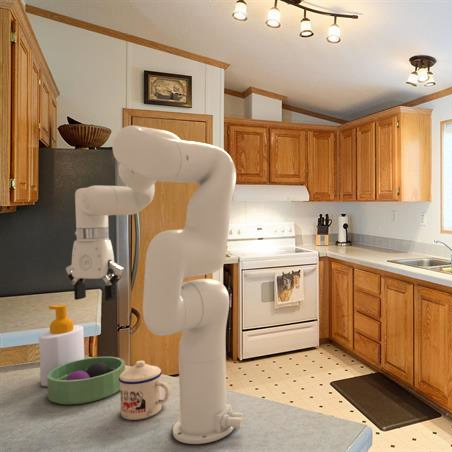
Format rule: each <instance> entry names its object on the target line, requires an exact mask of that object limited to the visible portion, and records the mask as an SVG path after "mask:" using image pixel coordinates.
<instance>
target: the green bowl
mask: <svg viewBox="0 0 452 452" xmlns="http://www.w3.org/2000/svg"><path fill="white" fill-rule="evenodd" d="M96 362H103V363H105V364H107V365H108V367H109V370H110V372H109V373H106V374H103V375H100V376H96V377H92V378H86V379H80V380H66V379H67V377H68V376H69V375H70V374H71V373H73V372H75V371H84V372H87V369H88V368H89V367H90V366H91V365H92V364H94V363H96ZM125 370H126V361H125V360H124V359H123V358H120V357H117V356H93V357H86V358H85V357H84V359H80V360H76V361H72V362H68V363H65V364H62V365H60V366H58V367H56V368H54V369H52V370H51V371H50V372H49V373H48V374H47V386H46V387H47V399H48V400H49V401H50V402H52V403H56V404H58V405H71V406H72V405H81V404H82V405H83V404H88V403H92V402H96V401H100V400H103V399H105V398H108V397H110V396H112V395H114V394H116V393H117V392H120V381H119V376H120V374H121V373H122V372H124V371H125Z"/></svg>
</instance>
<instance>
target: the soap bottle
mask: <svg viewBox="0 0 452 452" xmlns="http://www.w3.org/2000/svg"><path fill="white" fill-rule="evenodd" d="M67 309H68V308H67V304H52V305H49V306H48V310H54V311H55V319H53V320H52V321H51V322H50V324H49V331H46V332H44V333H42V334H40V335H39V337H38V343H39V344H38V345H39V346H38V348H39V370H40V371H39V373H40V374H39V375H40V377H39V378H40V385H41V386H42V387H48V386H47V374H48V373H49V372H50V371H51V370H52V369H54V368H56V367H58V366H60V365H62V364H65V363H68V362H72V361H76V360H80V359H85V343H84V342H85V338H84V337H85V336H84V334H85V333H84V326H82V325H74V321H73V320H72V319H71V318H69V317H68V313H67V312H68V310H67Z"/></svg>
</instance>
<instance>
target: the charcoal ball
mask: <svg viewBox="0 0 452 452" xmlns="http://www.w3.org/2000/svg"><path fill="white" fill-rule="evenodd" d="M109 372H110V370H109V367H108V365H107V364H105V363H103V362H96V363H94V364H92V365H91V366H90V367H89V368H88V369H87V372H86V373H87V374H88V375H89V377H90V378H92V377H96V376H100V375H103V374H106V373H109Z"/></svg>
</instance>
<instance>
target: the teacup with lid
mask: <svg viewBox="0 0 452 452" xmlns="http://www.w3.org/2000/svg"><path fill="white" fill-rule="evenodd" d="M162 374H163V373H162V369H161V367H159V366H156V365H151V364H148V363H146V362H145V360H138V361H136V362H135V365H133V366H131V367H130V368H128V369H125V371H124V372H122V373H121V374H120V376H119V381H120V390H119V393H120V415H121V417H122V418H124V419H126V420H130V421H136V420H143V419H147V418H150V417H153V416H154V415H156V414H158V413H159V412H160V411H161V410H162V405H163V404H165V403H166V402H168V400H169V399H170V396H171V387H170V386H169V384H168V383H167V382H165V381H162ZM162 388H163V390H164V391H165V394H164V398H163V399H162Z"/></svg>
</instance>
